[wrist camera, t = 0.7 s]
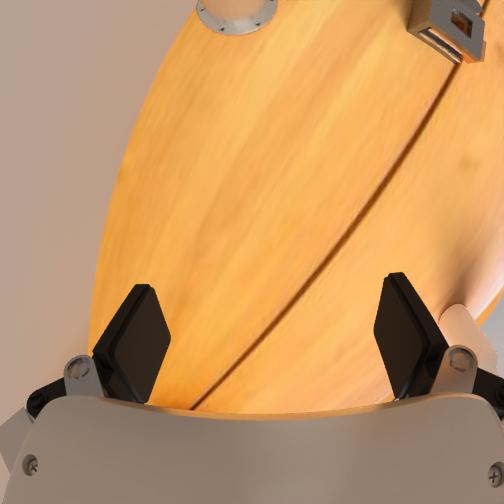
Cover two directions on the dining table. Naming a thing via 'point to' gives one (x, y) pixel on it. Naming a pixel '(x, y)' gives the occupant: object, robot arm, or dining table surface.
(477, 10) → the mat
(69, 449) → the robot arm
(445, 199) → the dining table surface
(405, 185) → the dining table surface
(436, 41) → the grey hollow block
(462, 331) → the alcohol
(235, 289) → the dining table surface
